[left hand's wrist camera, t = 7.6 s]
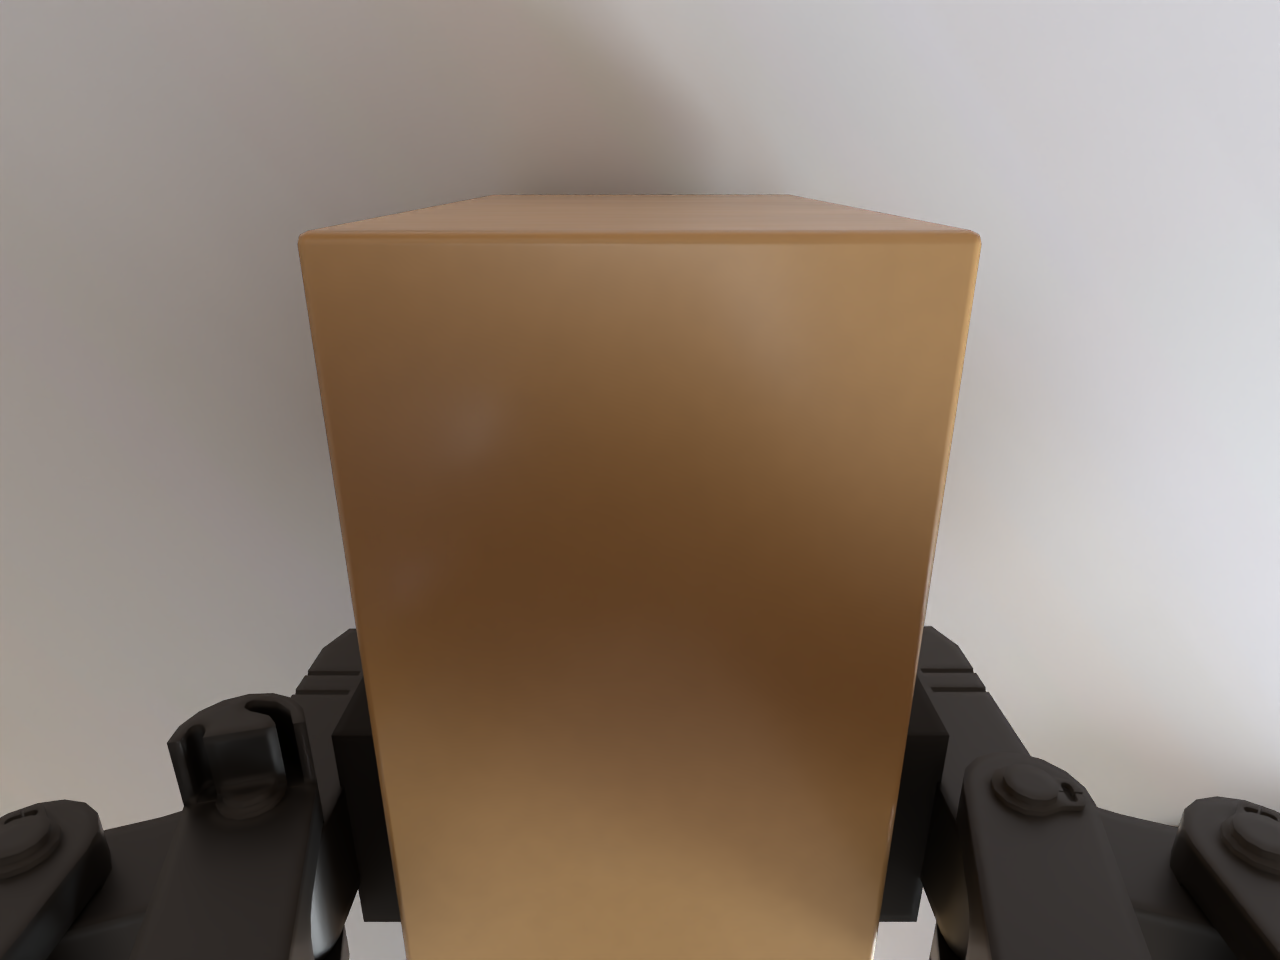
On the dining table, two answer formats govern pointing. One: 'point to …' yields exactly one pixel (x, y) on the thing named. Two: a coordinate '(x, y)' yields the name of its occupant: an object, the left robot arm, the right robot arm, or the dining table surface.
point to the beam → (639, 558)
